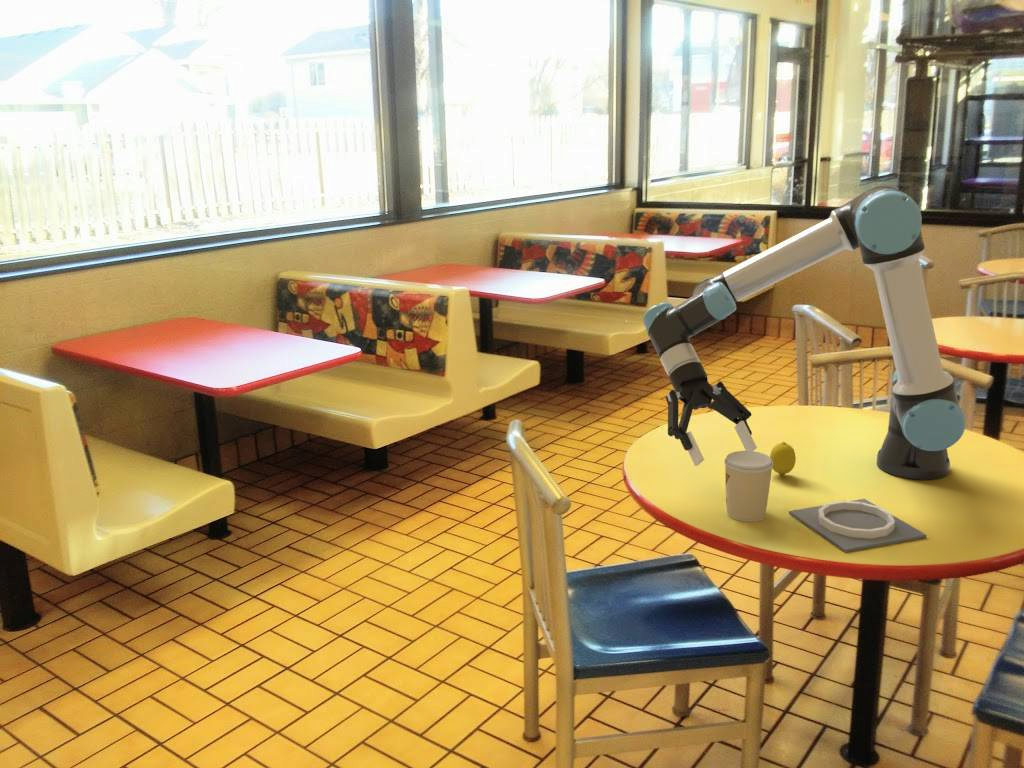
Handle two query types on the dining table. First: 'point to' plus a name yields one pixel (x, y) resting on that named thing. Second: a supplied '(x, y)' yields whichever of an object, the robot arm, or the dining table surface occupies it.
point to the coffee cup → (747, 485)
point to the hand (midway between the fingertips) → (726, 457)
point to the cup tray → (856, 525)
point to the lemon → (783, 458)
